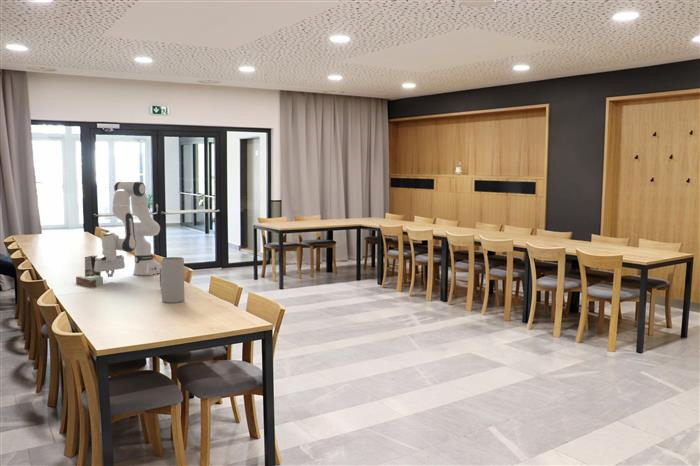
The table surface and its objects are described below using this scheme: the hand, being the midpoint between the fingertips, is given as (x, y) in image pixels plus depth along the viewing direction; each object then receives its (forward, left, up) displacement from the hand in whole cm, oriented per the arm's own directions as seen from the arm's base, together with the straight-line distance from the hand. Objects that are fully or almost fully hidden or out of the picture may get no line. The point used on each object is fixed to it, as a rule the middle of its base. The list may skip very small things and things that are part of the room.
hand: (110, 276), depth 410 cm
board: (+18, +1, -3) cm, 18 cm away
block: (+12, +1, -4) cm, 13 cm away
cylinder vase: (+9, +84, -4) cm, 84 cm away
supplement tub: (-12, +51, -4) cm, 52 cm away
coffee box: (+4, -16, -4) cm, 17 cm away
